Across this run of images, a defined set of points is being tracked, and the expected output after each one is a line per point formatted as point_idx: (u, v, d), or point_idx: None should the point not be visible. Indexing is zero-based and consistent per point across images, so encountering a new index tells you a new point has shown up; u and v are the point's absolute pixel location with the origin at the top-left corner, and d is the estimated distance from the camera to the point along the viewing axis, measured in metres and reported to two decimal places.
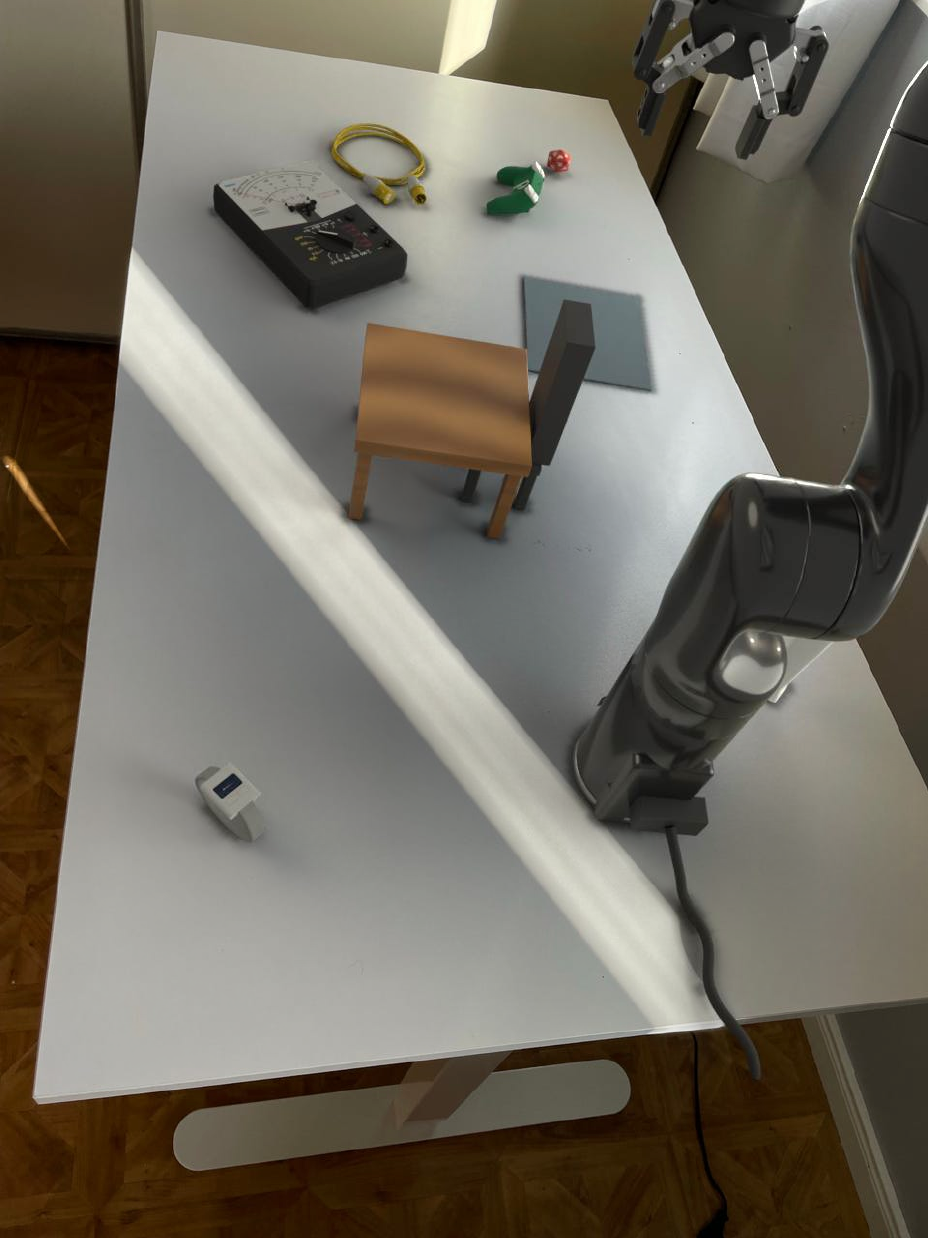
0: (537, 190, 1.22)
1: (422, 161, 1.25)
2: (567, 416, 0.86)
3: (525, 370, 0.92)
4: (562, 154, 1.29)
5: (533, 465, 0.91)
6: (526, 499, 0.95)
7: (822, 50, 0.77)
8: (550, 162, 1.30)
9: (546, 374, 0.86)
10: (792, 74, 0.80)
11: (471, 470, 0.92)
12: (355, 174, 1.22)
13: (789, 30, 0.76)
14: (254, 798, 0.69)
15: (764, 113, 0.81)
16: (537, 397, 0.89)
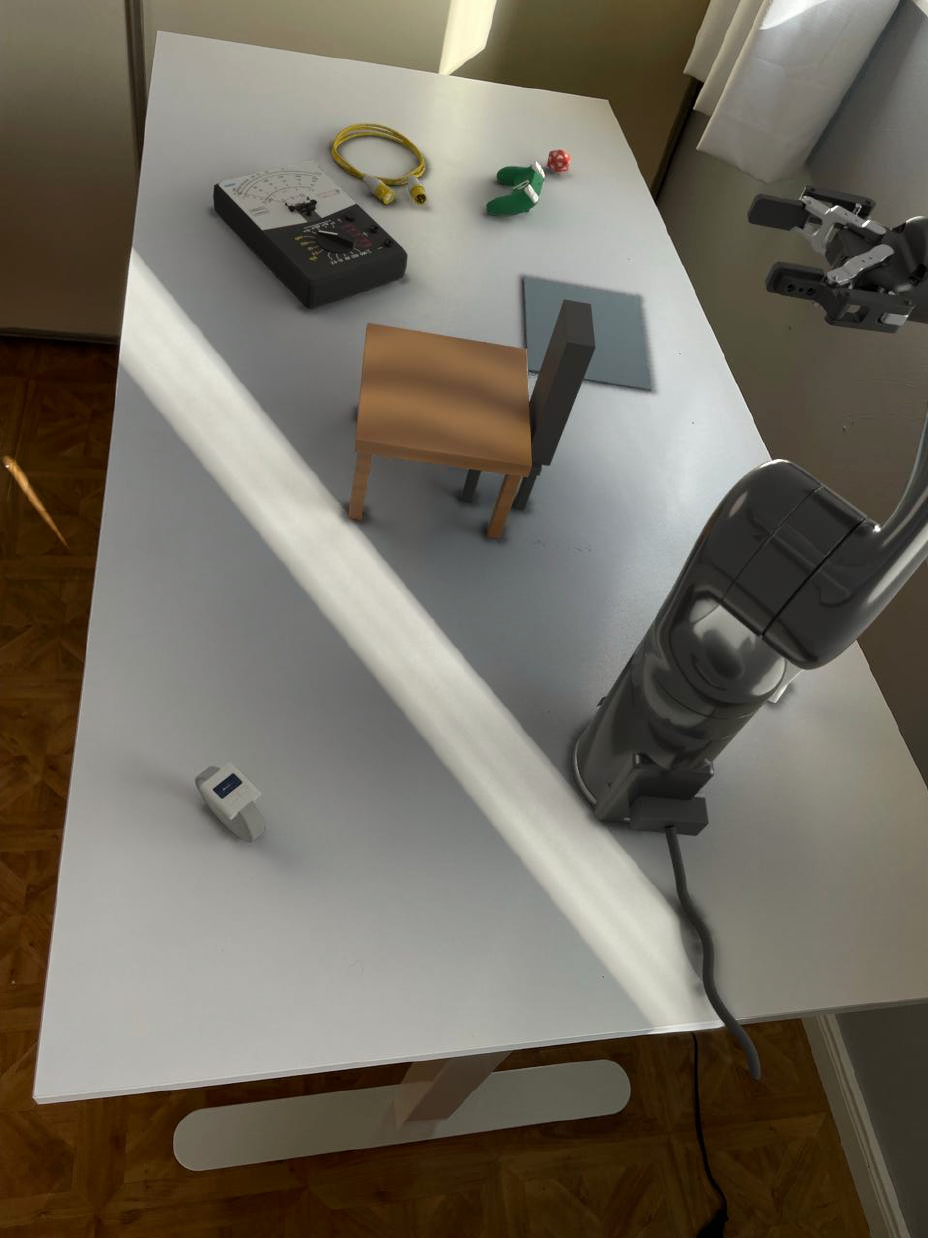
0: (537, 190, 1.22)
1: (422, 161, 1.25)
2: (567, 416, 0.86)
3: (525, 370, 0.92)
4: (562, 154, 1.29)
5: (533, 465, 0.91)
6: (526, 499, 0.95)
7: (908, 300, 0.72)
8: (550, 162, 1.30)
9: (546, 374, 0.86)
10: (852, 314, 0.74)
11: (471, 470, 0.92)
12: (355, 174, 1.22)
13: (904, 279, 0.74)
14: (254, 798, 0.69)
15: (830, 271, 0.73)
16: (537, 397, 0.89)
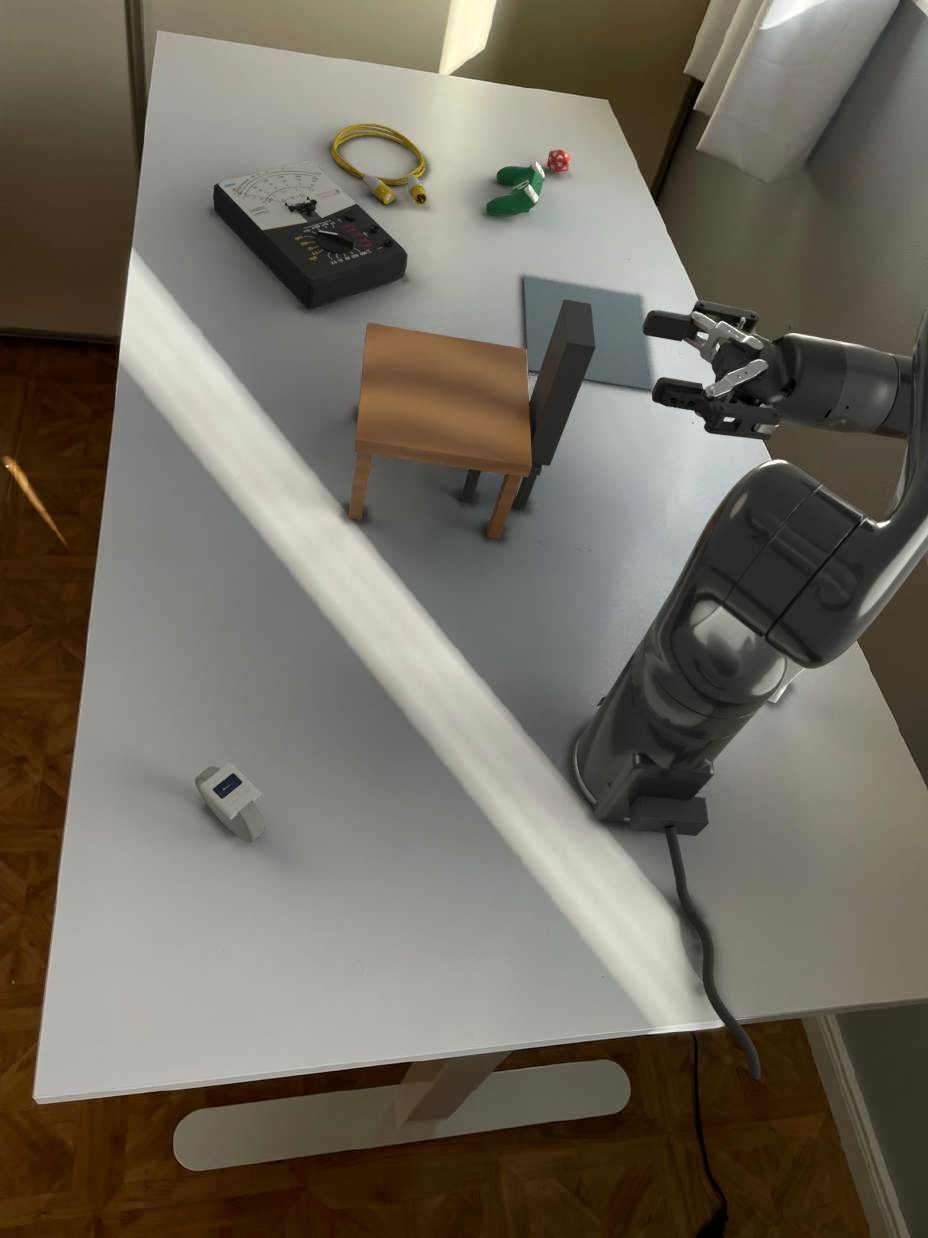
0: (537, 190, 1.22)
1: (422, 161, 1.25)
2: (567, 416, 0.86)
3: (525, 370, 0.92)
4: (562, 154, 1.29)
5: (533, 465, 0.91)
6: (526, 499, 0.95)
7: (776, 413, 0.81)
8: (550, 162, 1.30)
9: (546, 374, 0.86)
10: (729, 422, 0.83)
11: (471, 470, 0.92)
12: (355, 174, 1.22)
13: (776, 391, 0.83)
14: (254, 798, 0.69)
15: (708, 386, 0.82)
16: (537, 397, 0.89)
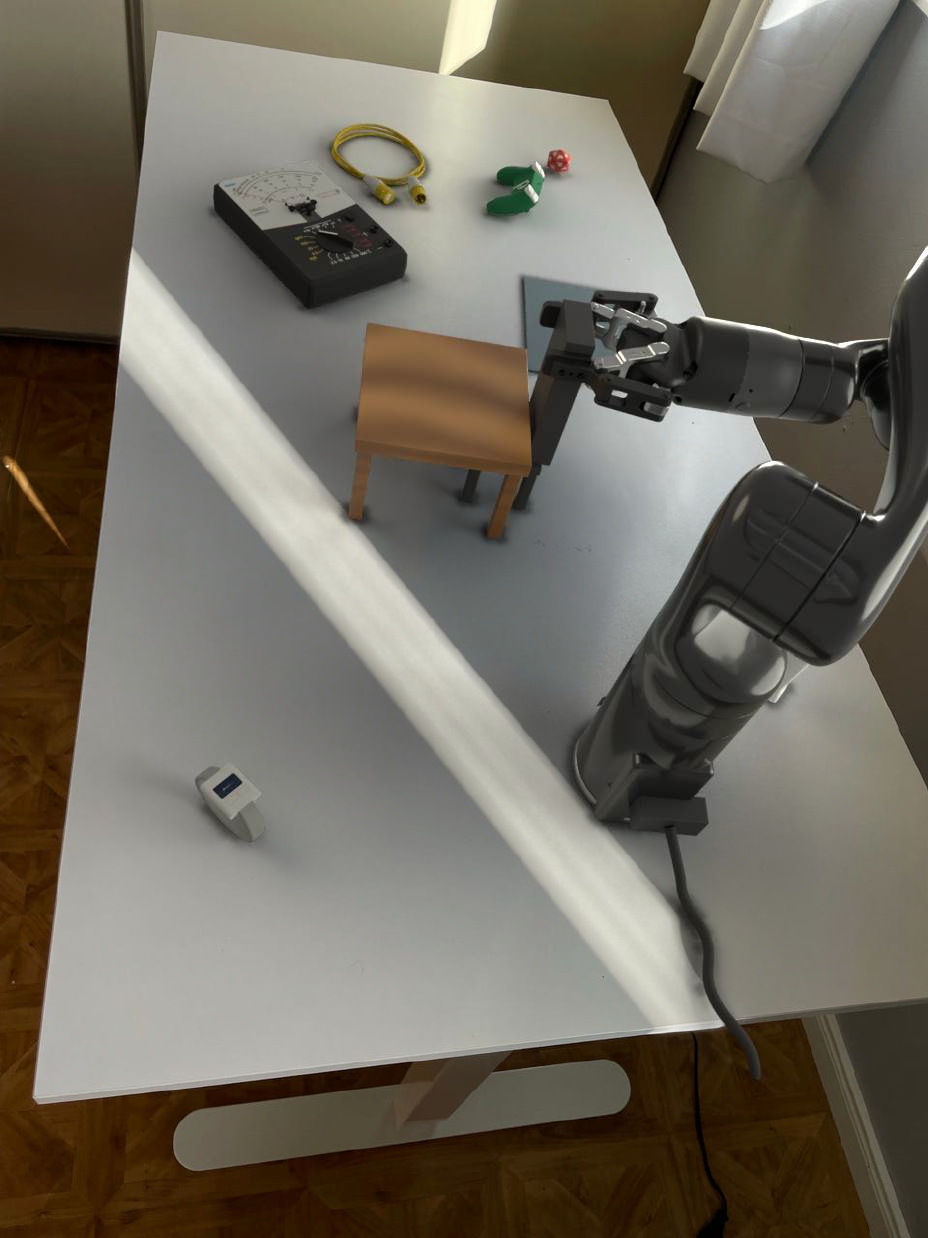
0: (537, 190, 1.22)
1: (422, 161, 1.25)
2: (567, 416, 0.86)
3: (525, 370, 0.92)
4: (562, 154, 1.29)
5: (533, 465, 0.91)
6: (526, 499, 0.95)
7: (665, 394, 0.80)
8: (550, 162, 1.30)
9: None
10: (622, 398, 0.82)
11: (471, 470, 0.92)
12: (355, 174, 1.22)
13: (677, 375, 0.82)
14: (254, 798, 0.69)
15: (597, 358, 0.81)
16: (537, 397, 0.89)
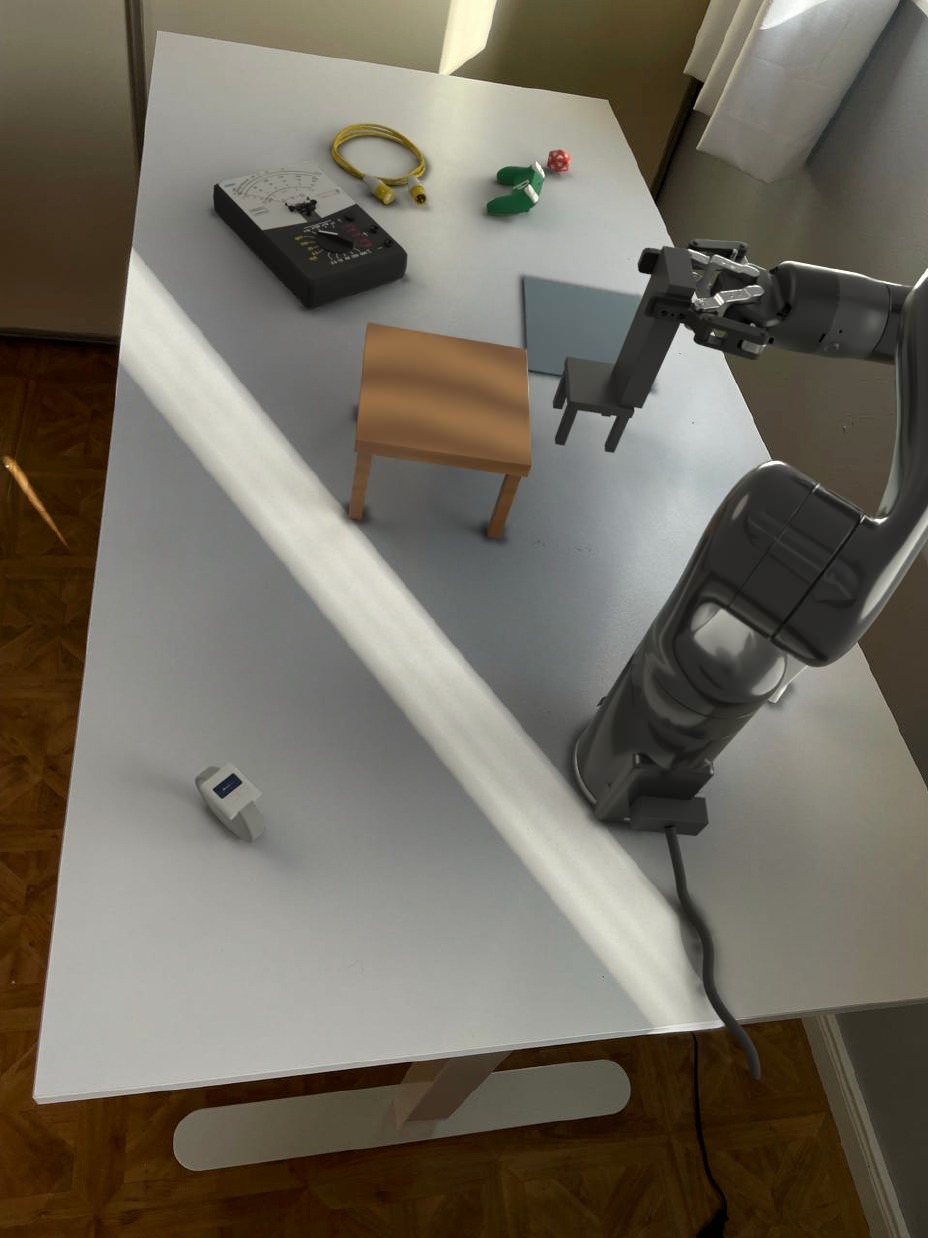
0: (537, 190, 1.22)
1: (422, 161, 1.25)
2: (663, 358, 0.91)
3: (525, 370, 0.92)
4: (562, 154, 1.29)
5: (626, 407, 0.96)
6: (617, 442, 1.00)
7: (763, 332, 0.85)
8: (550, 162, 1.30)
9: (643, 318, 0.91)
10: (720, 338, 0.87)
11: (567, 413, 0.97)
12: (355, 174, 1.22)
13: (772, 316, 0.87)
14: (254, 798, 0.69)
15: (697, 299, 0.86)
16: (632, 342, 0.94)
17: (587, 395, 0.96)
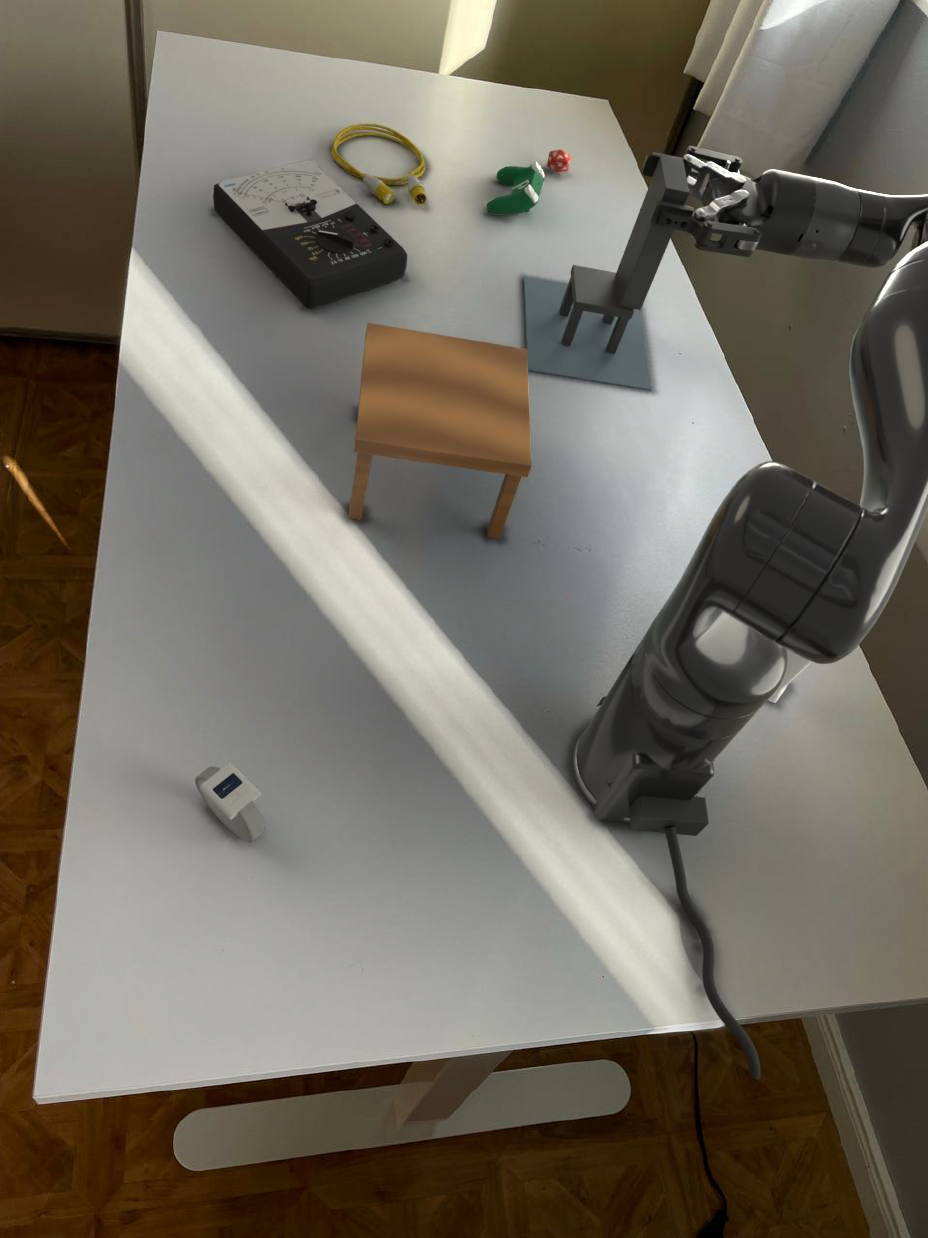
0: (537, 190, 1.22)
1: (422, 161, 1.25)
2: (659, 260, 1.02)
3: (525, 370, 0.92)
4: (562, 154, 1.29)
5: (627, 309, 1.07)
6: (618, 343, 1.11)
7: (756, 230, 0.95)
8: (550, 162, 1.30)
9: (642, 224, 1.02)
10: (716, 241, 0.97)
11: (573, 313, 1.08)
12: (355, 174, 1.22)
13: (756, 216, 0.98)
14: (254, 798, 0.69)
15: (698, 209, 0.96)
16: (632, 247, 1.05)
17: (591, 297, 1.07)
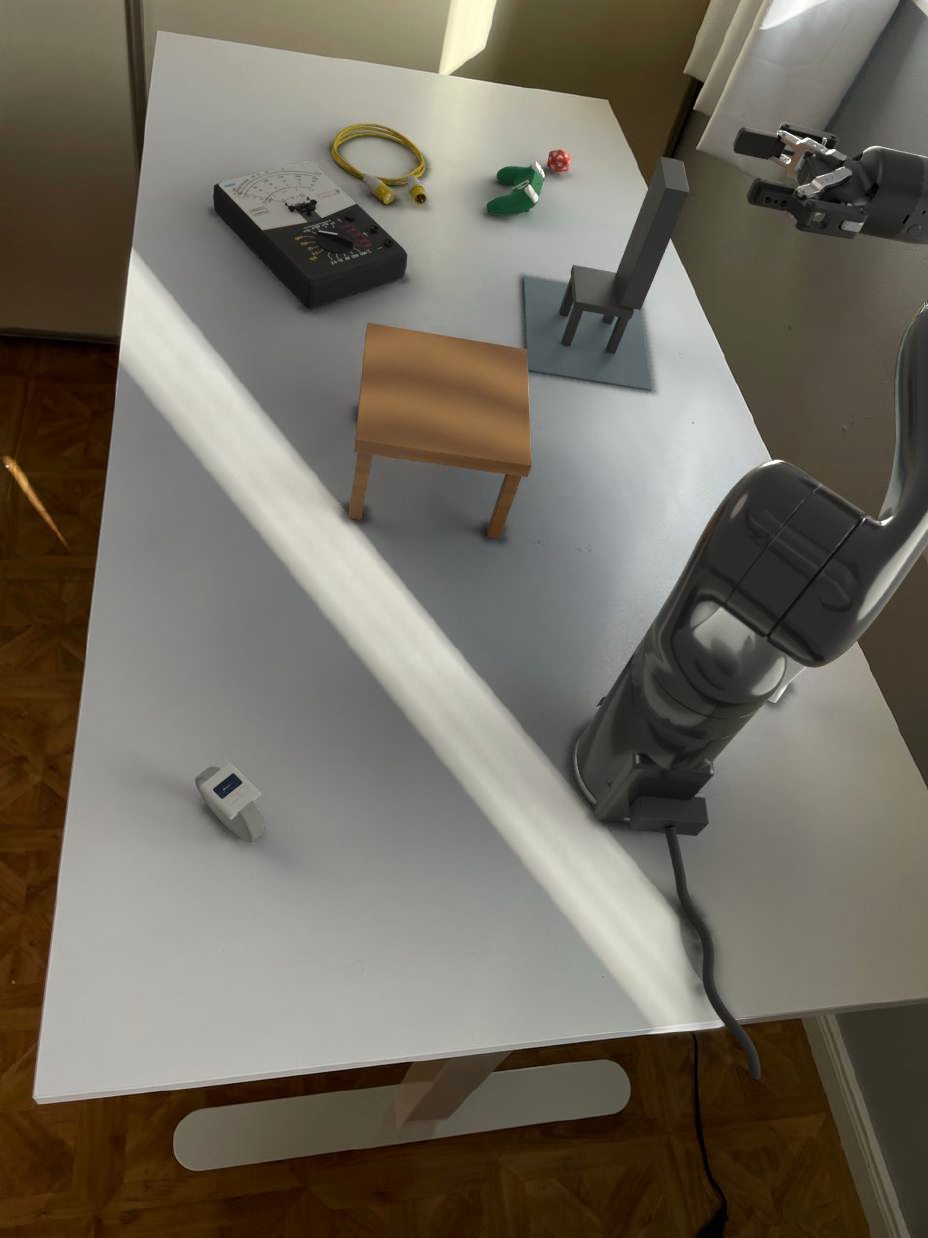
0: (537, 190, 1.22)
1: (422, 161, 1.25)
2: (659, 260, 1.02)
3: (525, 370, 0.92)
4: (562, 154, 1.29)
5: (627, 309, 1.07)
6: (618, 343, 1.11)
7: (862, 210, 0.89)
8: (550, 162, 1.30)
9: (642, 224, 1.02)
10: (818, 222, 0.90)
11: (573, 313, 1.08)
12: (355, 174, 1.22)
13: (860, 195, 0.91)
14: (254, 798, 0.69)
15: (800, 186, 0.89)
16: (632, 247, 1.05)
17: (591, 297, 1.07)
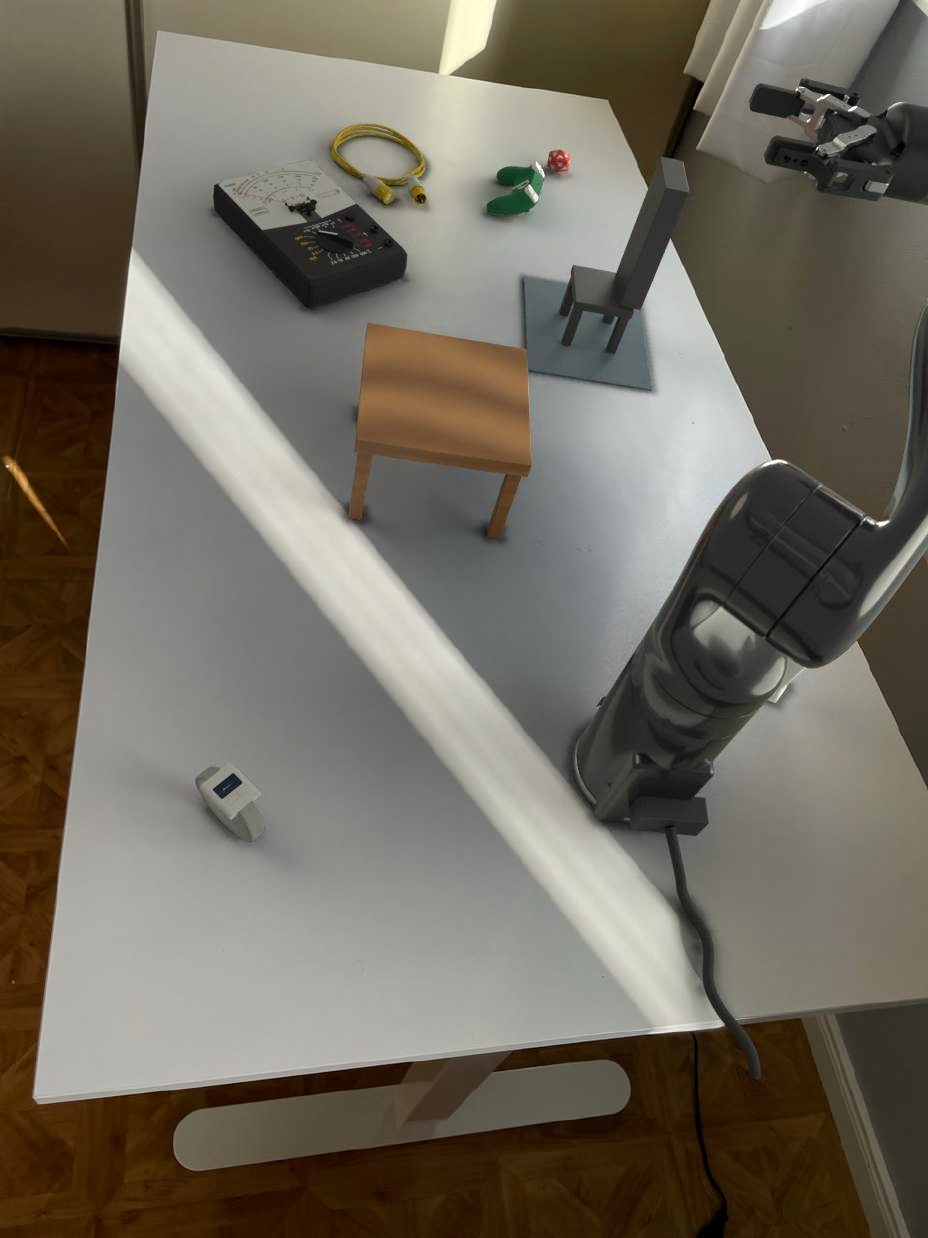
0: (537, 190, 1.22)
1: (422, 161, 1.25)
2: (659, 260, 1.02)
3: (525, 370, 0.92)
4: (562, 154, 1.29)
5: (627, 309, 1.07)
6: (618, 343, 1.11)
7: (888, 170, 0.83)
8: (550, 162, 1.30)
9: (642, 224, 1.02)
10: (840, 183, 0.85)
11: (573, 313, 1.08)
12: (355, 174, 1.22)
13: (885, 154, 0.85)
14: (254, 798, 0.69)
15: (821, 145, 0.83)
16: (632, 247, 1.05)
17: (591, 297, 1.07)
